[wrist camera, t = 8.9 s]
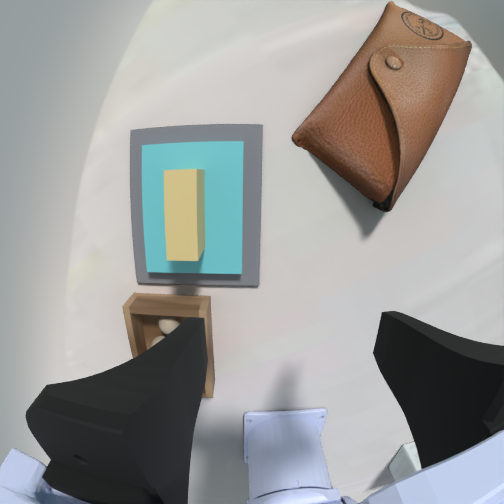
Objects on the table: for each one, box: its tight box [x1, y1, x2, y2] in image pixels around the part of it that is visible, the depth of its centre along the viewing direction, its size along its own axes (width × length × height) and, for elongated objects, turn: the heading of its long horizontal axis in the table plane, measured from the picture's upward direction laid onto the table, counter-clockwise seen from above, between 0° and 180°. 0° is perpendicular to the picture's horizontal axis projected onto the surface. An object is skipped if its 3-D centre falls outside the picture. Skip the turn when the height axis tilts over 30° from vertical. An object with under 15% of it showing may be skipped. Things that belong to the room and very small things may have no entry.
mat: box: [130, 124, 263, 286], centre depth 19 cm, size 11×9×1 cm
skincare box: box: [389, 442, 421, 481], centre depth 25 cm, size 6×6×7 cm
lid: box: [142, 141, 244, 274], centre depth 17 cm, size 9×7×4 cm
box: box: [123, 293, 215, 398], centre depth 21 cm, size 8×6×2 cm
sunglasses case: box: [292, 1, 472, 212], centre depth 16 cm, size 18×7×7 cm, turn 149°
